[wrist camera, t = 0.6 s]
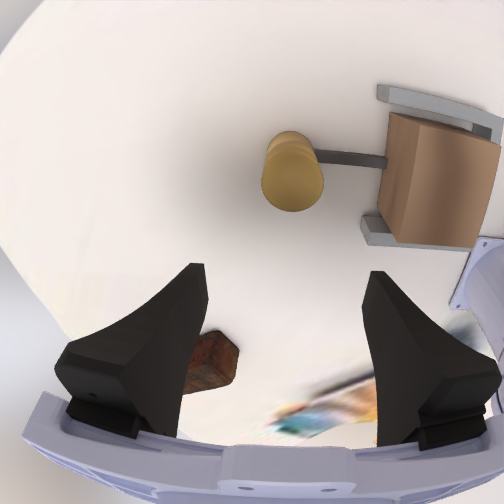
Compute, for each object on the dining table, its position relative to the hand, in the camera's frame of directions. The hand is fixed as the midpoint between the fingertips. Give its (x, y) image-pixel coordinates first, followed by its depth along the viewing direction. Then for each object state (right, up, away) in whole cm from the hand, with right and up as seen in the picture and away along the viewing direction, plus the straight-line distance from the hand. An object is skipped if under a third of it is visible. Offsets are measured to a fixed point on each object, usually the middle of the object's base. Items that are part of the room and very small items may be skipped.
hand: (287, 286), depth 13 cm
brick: (-8, -9, +19) cm, 23 cm away
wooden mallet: (+7, +8, +6) cm, 12 cm away
